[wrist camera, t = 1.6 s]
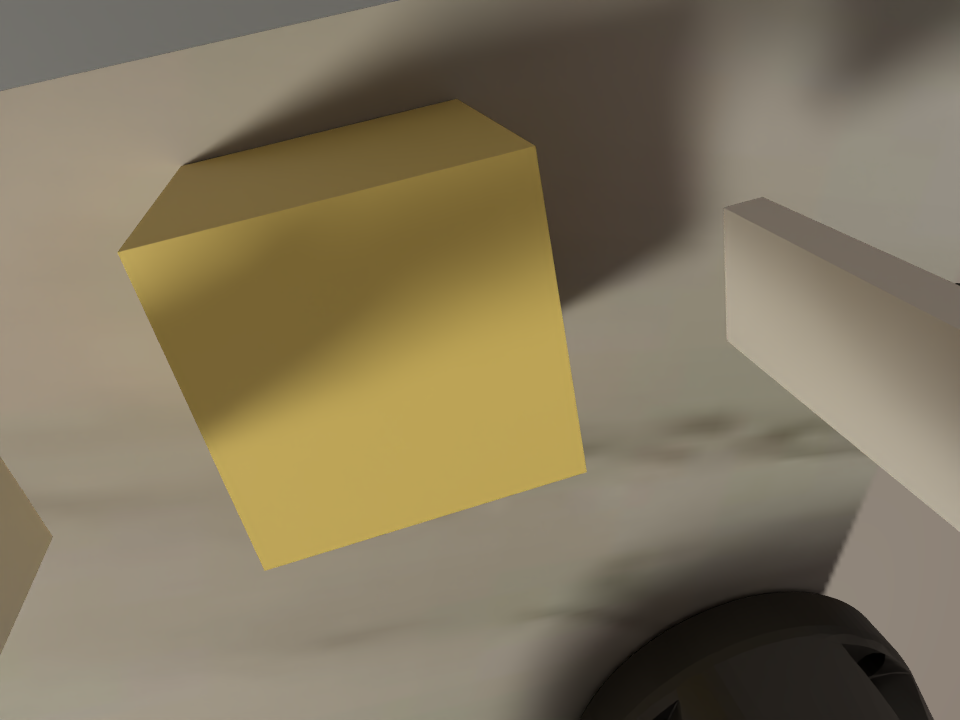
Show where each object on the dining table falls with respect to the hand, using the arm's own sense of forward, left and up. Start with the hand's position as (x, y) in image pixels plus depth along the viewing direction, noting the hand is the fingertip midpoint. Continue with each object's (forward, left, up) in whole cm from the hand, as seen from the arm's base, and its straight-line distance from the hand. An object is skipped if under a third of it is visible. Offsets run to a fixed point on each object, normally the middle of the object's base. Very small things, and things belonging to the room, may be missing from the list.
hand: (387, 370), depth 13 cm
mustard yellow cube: (0, 0, -8) cm, 8 cm away
